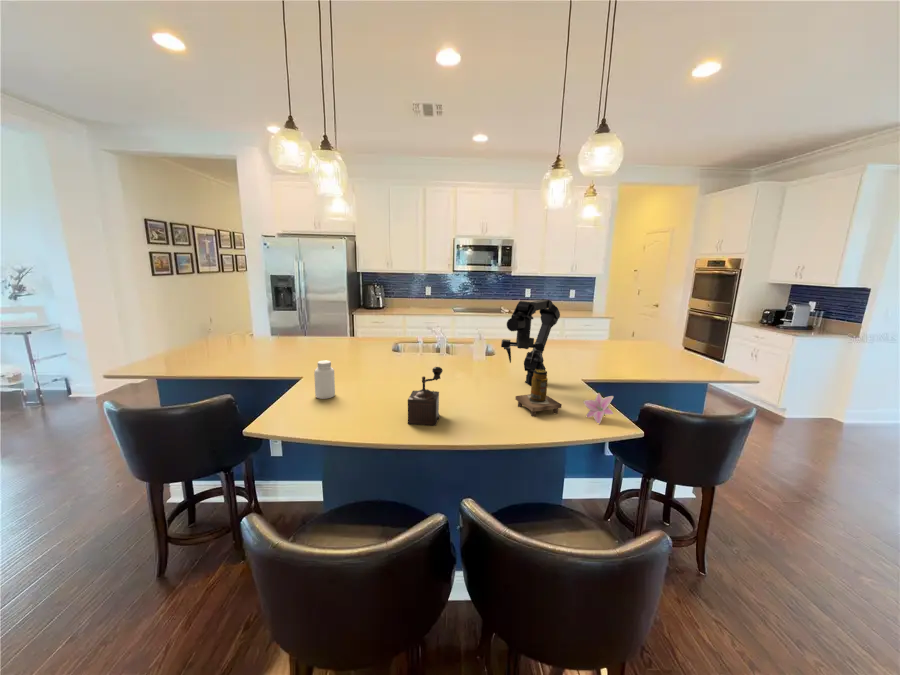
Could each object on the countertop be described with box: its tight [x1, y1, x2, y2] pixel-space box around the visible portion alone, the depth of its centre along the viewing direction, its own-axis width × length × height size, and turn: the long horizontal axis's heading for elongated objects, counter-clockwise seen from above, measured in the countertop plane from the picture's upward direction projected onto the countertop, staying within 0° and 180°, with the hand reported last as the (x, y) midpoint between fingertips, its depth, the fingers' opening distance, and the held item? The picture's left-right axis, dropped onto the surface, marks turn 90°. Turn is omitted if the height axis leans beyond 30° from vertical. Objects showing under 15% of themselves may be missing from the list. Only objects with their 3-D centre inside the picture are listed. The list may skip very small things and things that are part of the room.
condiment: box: [526, 369, 549, 404], centre depth 147 cm, size 7×8×12 cm
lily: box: [583, 392, 614, 425], centre depth 141 cm, size 12×12×10 cm
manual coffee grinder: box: [407, 366, 443, 427], centre depth 138 cm, size 16×11×18 cm
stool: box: [514, 393, 563, 418], centre depth 149 cm, size 13×13×4 cm
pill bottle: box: [313, 359, 336, 400], centre depth 156 cm, size 8×8×15 cm
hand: (520, 363), depth 167 cm, fingers open, 9 cm apart
